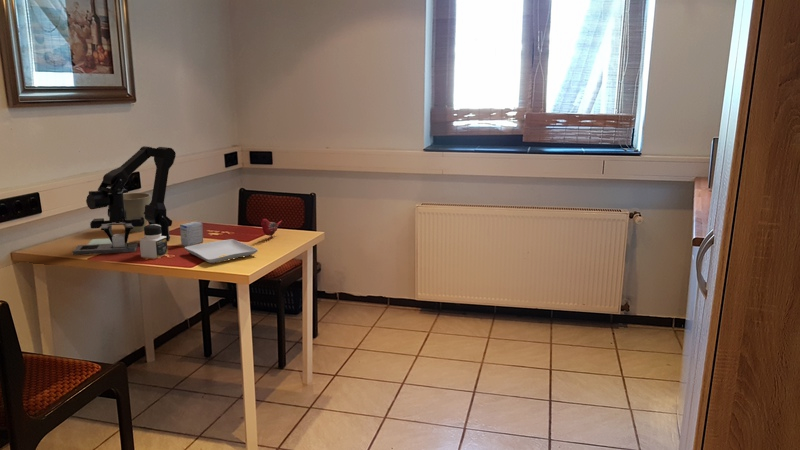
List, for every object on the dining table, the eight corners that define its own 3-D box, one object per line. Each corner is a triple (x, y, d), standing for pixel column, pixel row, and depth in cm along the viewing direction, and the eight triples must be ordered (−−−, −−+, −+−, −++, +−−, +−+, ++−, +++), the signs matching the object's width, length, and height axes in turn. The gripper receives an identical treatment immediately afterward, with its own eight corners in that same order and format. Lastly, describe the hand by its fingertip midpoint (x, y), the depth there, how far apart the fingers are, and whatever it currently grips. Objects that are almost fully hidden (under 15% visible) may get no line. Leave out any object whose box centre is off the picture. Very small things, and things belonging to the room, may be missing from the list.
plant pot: (116, 228, 268) (112, 194, 265) (151, 225, 275) (148, 191, 271) (118, 236, 255) (114, 199, 252) (154, 232, 262) (152, 197, 259)
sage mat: (126, 239, 251) (126, 237, 251) (122, 245, 242) (121, 243, 241) (92, 240, 247) (92, 239, 247) (87, 246, 238) (86, 245, 238)
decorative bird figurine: (258, 242, 250) (257, 219, 247) (280, 233, 266) (279, 211, 264) (264, 243, 249) (263, 220, 247) (285, 233, 265) (285, 212, 263)
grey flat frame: (138, 245, 241) (137, 242, 241) (134, 251, 232) (134, 248, 232) (78, 248, 235) (78, 245, 235) (72, 255, 227) (72, 251, 226)
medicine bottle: (157, 258, 224) (155, 228, 222) (140, 257, 226) (138, 226, 223) (168, 253, 231) (166, 223, 228) (151, 252, 233) (149, 222, 230)
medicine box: (196, 240, 250) (195, 221, 248) (203, 242, 248) (202, 222, 246) (181, 245, 244) (179, 224, 242) (188, 246, 242) (186, 226, 240)
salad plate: (259, 257, 230) (259, 248, 230) (209, 267, 216) (208, 258, 215) (232, 246, 245) (232, 238, 244) (183, 255, 231) (182, 246, 230)
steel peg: (127, 248, 238) (125, 233, 236) (125, 251, 234) (124, 236, 232) (115, 248, 237) (113, 234, 235) (113, 251, 232) (111, 236, 231)
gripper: (144, 200, 241) (147, 237, 245) (94, 202, 236) (98, 239, 240) (140, 205, 230) (144, 244, 234) (88, 207, 226) (92, 246, 229)
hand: (119, 243), depth 235 cm, fingers closed on steel peg, 4 cm apart
